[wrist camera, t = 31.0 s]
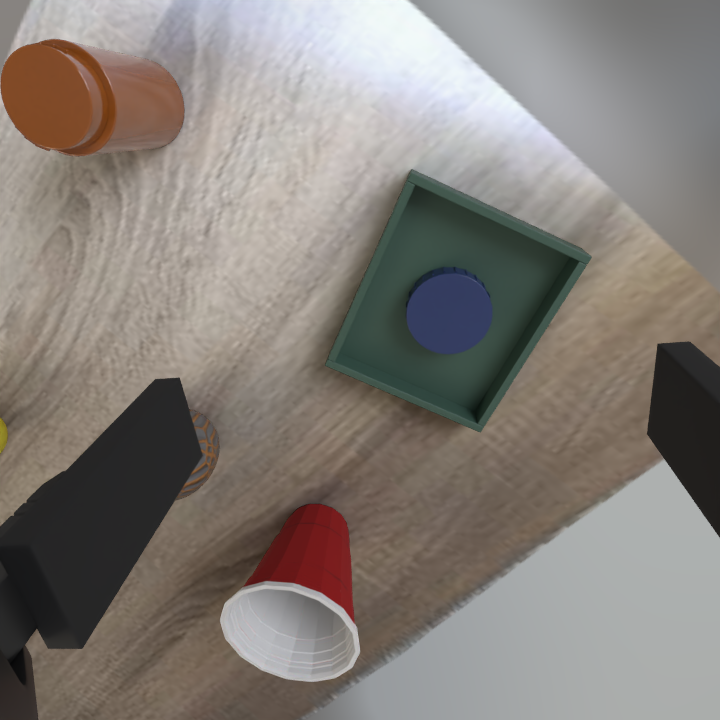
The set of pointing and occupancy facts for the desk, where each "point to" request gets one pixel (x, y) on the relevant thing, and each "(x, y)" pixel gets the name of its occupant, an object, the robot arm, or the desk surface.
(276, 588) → the plastic cup
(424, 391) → the tray
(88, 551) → the robot arm
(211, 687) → the desk surface
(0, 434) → the lemon
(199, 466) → the vase
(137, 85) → the jam jar
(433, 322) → the jar lid
